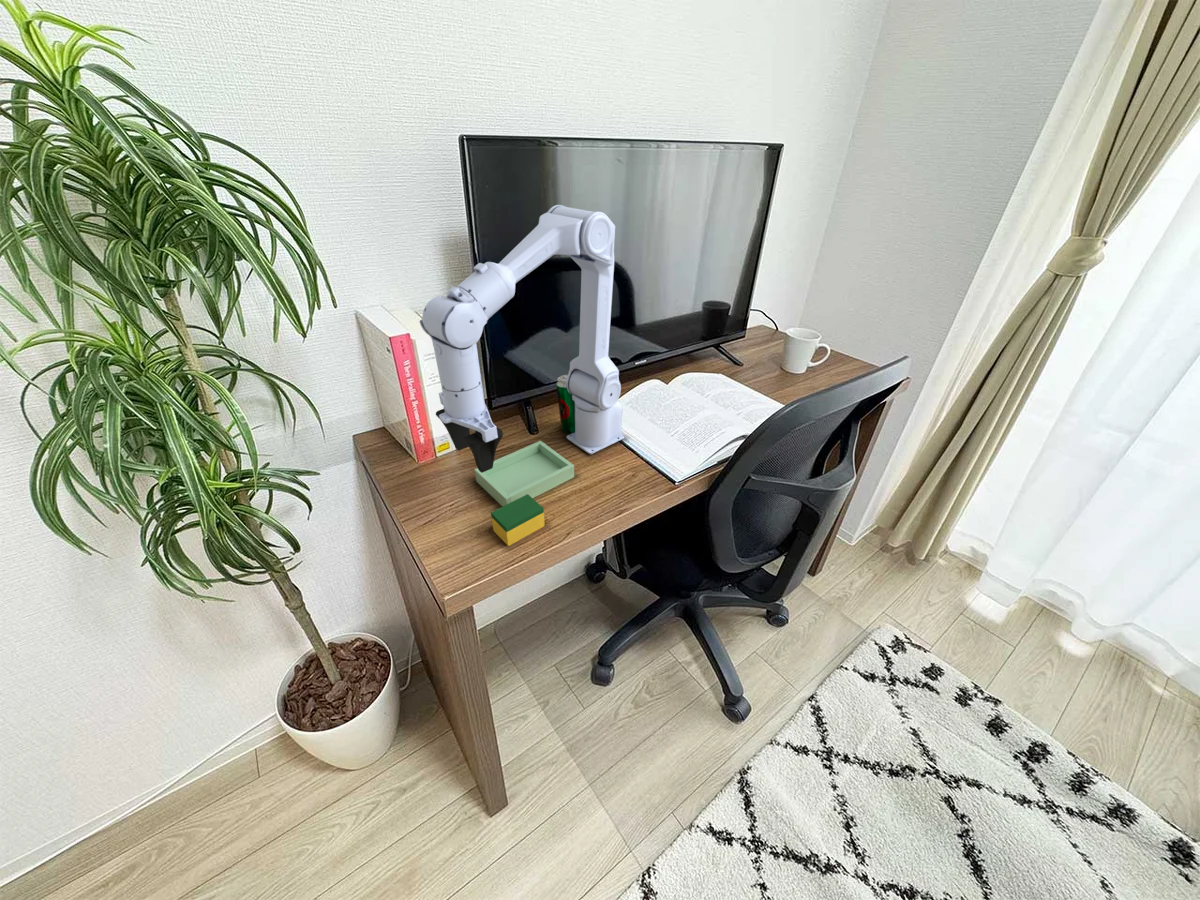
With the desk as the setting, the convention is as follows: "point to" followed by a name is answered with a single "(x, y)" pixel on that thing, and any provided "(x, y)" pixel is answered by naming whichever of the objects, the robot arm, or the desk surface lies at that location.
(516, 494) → the tray
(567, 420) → the soda can
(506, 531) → the sponge
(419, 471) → the desk surface
